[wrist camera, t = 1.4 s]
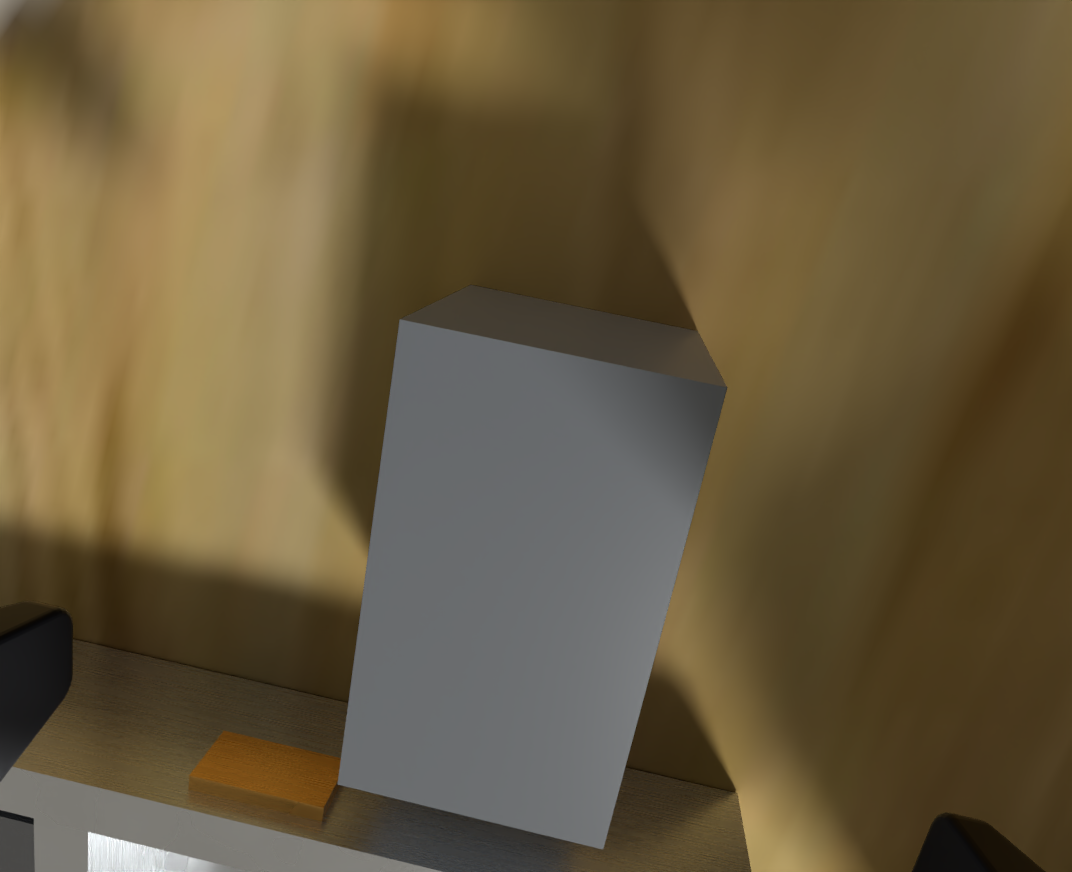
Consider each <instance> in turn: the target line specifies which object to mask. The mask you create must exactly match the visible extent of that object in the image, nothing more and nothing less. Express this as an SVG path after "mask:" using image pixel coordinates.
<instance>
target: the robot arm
mask: <svg viewBox="0 0 1072 872" xmlns="http://www.w3.org/2000/svg"><path fill="white" fill-rule="evenodd" d="M72 676H73V621H72V617H71V615H70V613H69V612H68V611H67V610H66V609H64V608H62V607H58V606H53V605H49V604H45V603H41V602H36V601H24V602H20V603H16V604H12V605H8V606H4V607H0V782H1V781H2V779H3V778H4V777H5V775H6V774H7V773H8V772H9V770H10V769H11V768H12V766H13V765H14V764H15V762H16V761H17V760H18V759H19V757H20V756H21V755H22V753H23V752H24V751H25V749H26V748H27V747H28V746H29V744H30V743H31V742H32V740H33V739H34V738H35V736H36V735H37V734H38V733H39V731H40V730H41V729H42V727H43V726H44V725H45V723H46V722H47V721H48V720H49V718H50V717H51V716H52V714H53V713H54V712H55V710H56V709H57V708H58V706H59V705H60V704H61V703H62V701H63V700H64V698H65V696H66V694H67V693H68V691H69V688H70V685H71V682H72ZM912 872H1045V871H1044V870H1043V869H1042V868H1040V867H1039V866H1038V865H1037V864H1036V863H1034V862H1033V861H1032V860H1031V859H1030V858H1029V857H1027V856H1026V855H1025V854H1024V853H1023V852H1021V851H1020V850H1019V849H1018V848H1017V847H1016V846H1014V845H1013V844H1012V843H1011V842H1010V841H1008V840H1007V839H1006V838H1005V837H1004V836H1003V835H1001V834H1000V833H999V832H998V831H997V830H995V829H994V828H993V827H992V826H991V825H989V824H988V823H986V822H984V821H982V820H978V819H974V818H970V817H965V816H961V815H956V814H952V813H942V814H940V815H938V816H937V817H936V818H935V819H934V821H933V823H932V824H931V827H930V829H929V832H928V834H927V836H926V839H925V841H924V844H923V846H922V848H921V851H920V853H919V856H918V858H917V861H916V863H915V865H914V868H913V870H912Z"/></svg>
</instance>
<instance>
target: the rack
mask: <svg viewBox="0 0 1072 872" xmlns="http://www.w3.org/2000/svg"><path fill="white" fill-rule="evenodd" d="M347 709H348V703H346V702H342V701H337V700H333V699H329V698H325V697H320V696H316V695H312V694H307V693H303V692H299V691H294V690H290V689H286V688H281V687H277V686H273V685H269V684H264V683H260V682H256V681H251V680H247V679H243V678H238V677H234V676H230V675H226V674H221V673H217V672H213V671H208V670H204V669H200V668H195V667H191V666H187V665H182V664H178V663H174V662H170V661H165V660H161V659H157V658H152V657H148V656H144V655H139V654H135V653H131V652H127V651H122V650H118V649H114V648H109V647H105V646H101V645H96V644H92V643H88V642H83V641H79V640H75V639H73V676H72V682H71V685H70V688H69V691H68V693H67V694H66V696H65V698H64V700H63V701H62V703H61V704H60V705H59V706H58V708H57V709H56V710H55V712H54V713H53V714H52V716H51V717H50V718H49V720H48V721H47V722H46V723H45V725H44V726H43V727H42V729H41V730H40V731H39V733H38V734H37V735H36V736H35V738H34V739H33V740H32V742H31V743H30V744H29V746H28V747H27V748H26V749H25V751H24V752H23V753H22V755H21V756H20V757H19V759H18V760H17V761H16V762H15V764H14V765H13V766H12V768H11V769H10V770H9V772H8V773H7V774H6V775H5V777H4V778H3V779H2V781H1V782H0V872H751V867H750V861H749V856H748V850H747V845H746V839H745V833H744V828H743V822H742V817H741V811H740V806H739V800H738V794H737V793H733V792H729V791H725V790H720V789H716V788H712V787H708V786H703V785H699V784H695V783H690V782H686V781H682V780H677V779H673V778H669V777H665V776H660V775H656V774H652V773H647V772H643V771H639V770H634V769H630V768H626V767H625V770H624V774H623V778H622V781H621V785H620V789H619V792H618V796H617V800H616V804H615V807H614V811H613V815H612V818H611V822H610V826H609V830H608V833H607V837H606V841H605V845H604V848H603V849H599V848H594V847H590V846H586V845H582V844H578V843H574V842H570V841H566V840H562V839H558V838H554V837H550V836H546V835H541V834H537V833H533V832H529V831H525V830H521V829H517V828H513V827H509V826H505V825H501V824H497V823H493V822H488V821H484V820H480V819H476V818H472V817H468V816H464V815H460V814H456V813H452V812H448V811H444V810H440V809H435V808H431V807H427V806H423V805H419V804H415V803H411V802H407V801H403V800H399V799H395V798H391V797H387V796H383V795H378V794H374V793H370V792H366V791H362V790H358V789H354V788H350V787H346V786H342V785H338V776H339V769H340V761H341V754H342V747H343V739H344V732H345V724H346V717H347Z"/></svg>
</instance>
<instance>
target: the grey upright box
mask: <svg viewBox="0 0 1072 872" xmlns="http://www.w3.org/2000/svg"><path fill="white" fill-rule="evenodd" d="M726 390H727V386H726V384H725V382H724V380H723V378H722V376H721V375H720V373H719V371H718V369H717V367H716V365H715V363H714V361H713V359H712V358H711V356H710V354H709V352H708V350H707V348H706V346H705V344H704V342H703V340H702V339H701V337H700V335H699V333H698V331H694V330H690V329H685V328H680V327H675V326H670V325H665V324H660V323H655V322H650V321H646V320H641V319H636V318H631V317H626V316H621V315H616V314H611V313H606V312H602V311H597V310H592V309H587V308H582V307H577V306H572V305H567V304H562V303H557V302H553V301H548V300H543V299H538V298H533V297H528V296H523V295H518V294H513V293H509V292H504V291H499V290H494V289H489V288H484V287H479V286H474V285H469V286H467V287H465V288H463V289H461V290H459V291H457V292H455V293H453V294H451V295H449V296H447V297H445V298H443V299H441V300H438V301H436V302H434V303H432V304H430V305H428V306H426V307H424V308H422V309H420V310H418V311H416V312H414V313H412V314H410V315H408V316H406V317H403V318H401V319H400V321H399V329H398V336H397V344H396V351H395V359H394V366H393V374H392V381H391V388H390V396H389V403H388V411H387V418H386V426H385V433H384V441H383V448H382V456H381V463H380V471H379V478H378V485H377V493H376V500H375V508H374V515H373V523H372V530H371V538H370V545H369V553H368V560H367V567H366V575H365V582H364V590H363V597H362V605H361V612H360V620H359V627H358V635H357V642H356V650H355V657H354V664H353V672H352V679H351V687H350V694H349V702H348V709H347V717H346V724H345V732H344V739H343V747H342V754H341V761H340V769H339V776H338V785H342V786H346V787H350V788H354V789H358V790H362V791H366V792H370V793H374V794H378V795H383V796H387V797H391V798H395V799H399V800H403V801H407V802H411V803H415V804H419V805H423V806H427V807H431V808H435V809H440V810H444V811H448V812H452V813H456V814H460V815H464V816H468V817H472V818H476V819H480V820H484V821H488V822H493V823H497V824H501V825H505V826H509V827H513V828H517V829H521V830H525V831H529V832H533V833H537V834H541V835H546V836H550V837H554V838H558V839H562V840H566V841H570V842H574V843H578V844H582V845H586V846H590V847H594V848H599V849H603V848H604V845H605V841H606V837H607V833H608V830H609V826H610V822H611V818H612V815H613V811H614V807H615V804H616V800H617V796H618V792H619V789H620V785H621V781H622V778H623V774H624V770H625V766H626V763H627V759H628V755H629V751H630V748H631V744H632V740H633V737H634V733H635V729H636V725H637V722H638V718H639V714H640V711H641V707H642V703H643V699H644V696H645V692H646V688H647V684H648V681H649V677H650V673H651V670H652V666H653V662H654V658H655V655H656V651H657V647H658V644H659V640H660V636H661V632H662V629H663V625H664V621H665V618H666V614H667V610H668V606H669V603H670V599H671V595H672V591H673V588H674V584H675V580H676V577H677V573H678V569H679V565H680V562H681V558H682V554H683V551H684V547H685V543H686V539H687V536H688V532H689V528H690V524H691V521H692V517H693V513H694V510H695V506H696V502H697V498H698V495H699V491H700V487H701V484H702V480H703V476H704V472H705V469H706V465H707V461H708V457H709V454H710V450H711V446H712V443H713V439H714V435H715V431H716V428H717V424H718V420H719V417H720V413H721V409H722V405H723V402H724V398H725V394H726Z"/></svg>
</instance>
